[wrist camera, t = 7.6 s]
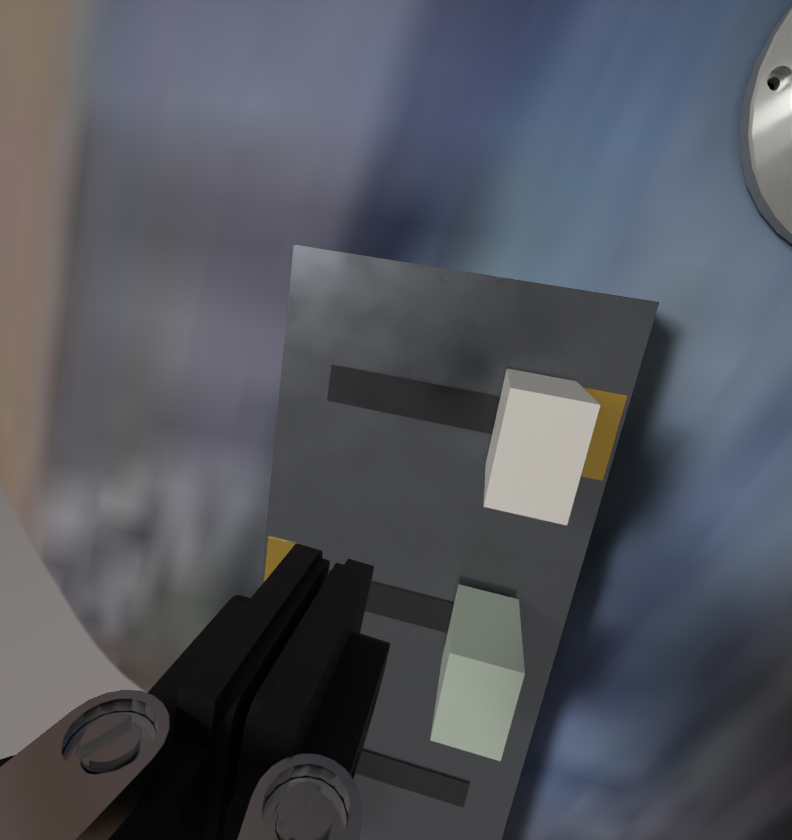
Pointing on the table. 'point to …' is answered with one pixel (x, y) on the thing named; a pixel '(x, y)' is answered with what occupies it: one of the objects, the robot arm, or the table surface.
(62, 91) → the table surface
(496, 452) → the slider ivory
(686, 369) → the table surface
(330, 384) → the grey slotted slider board
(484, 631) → the slider sage
